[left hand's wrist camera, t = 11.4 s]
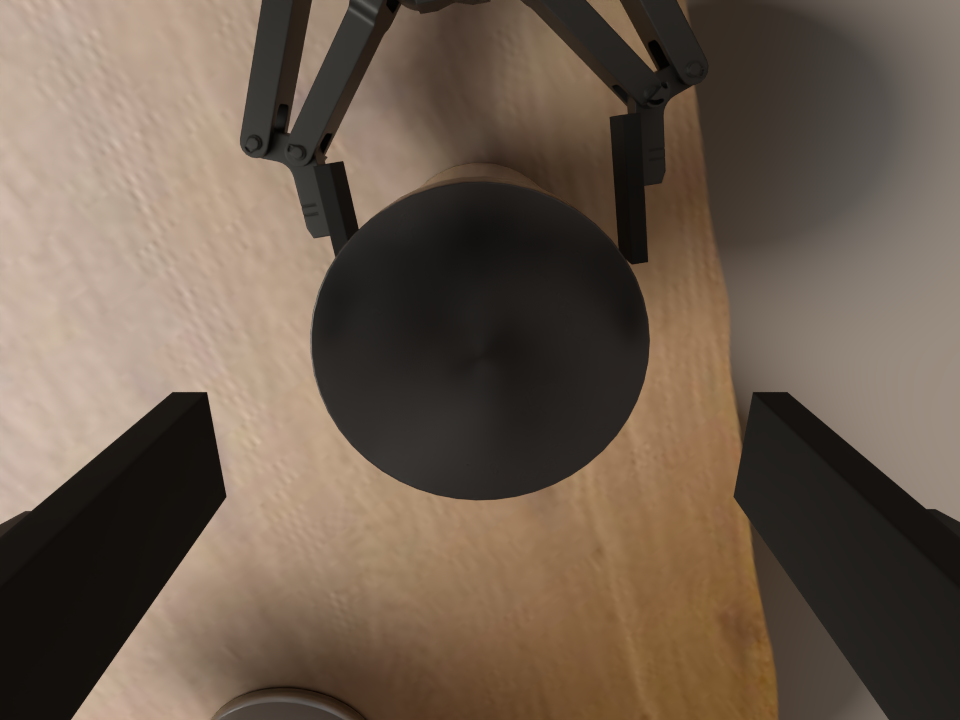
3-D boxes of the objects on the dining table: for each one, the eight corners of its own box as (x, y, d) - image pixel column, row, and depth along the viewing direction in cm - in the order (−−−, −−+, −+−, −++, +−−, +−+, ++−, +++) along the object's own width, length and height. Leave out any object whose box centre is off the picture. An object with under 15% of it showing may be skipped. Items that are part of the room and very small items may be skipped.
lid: (549, 111, 18) (558, 107, 16) (678, 390, 21) (700, 418, 19) (266, 274, 20) (240, 292, 18) (426, 507, 23) (420, 545, 21)
